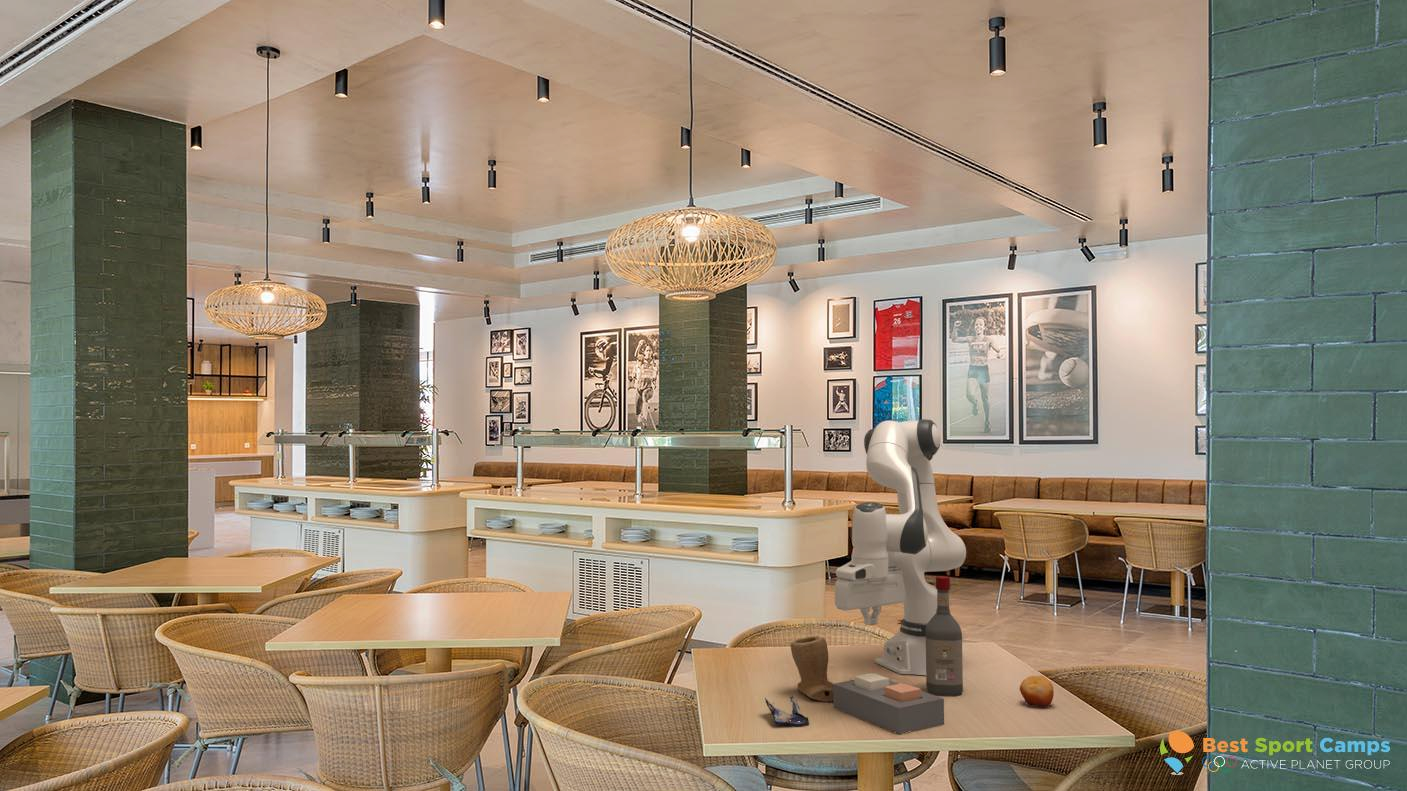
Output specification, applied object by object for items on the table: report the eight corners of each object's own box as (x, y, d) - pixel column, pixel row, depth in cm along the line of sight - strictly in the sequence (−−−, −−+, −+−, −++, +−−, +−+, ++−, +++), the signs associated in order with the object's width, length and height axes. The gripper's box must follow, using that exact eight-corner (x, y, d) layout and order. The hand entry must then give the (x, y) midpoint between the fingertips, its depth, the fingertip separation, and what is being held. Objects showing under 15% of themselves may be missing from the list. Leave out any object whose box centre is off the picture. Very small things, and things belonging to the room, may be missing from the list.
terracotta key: (884, 700, 227) (884, 686, 227) (903, 696, 230) (903, 683, 230) (901, 706, 222) (901, 692, 222) (920, 702, 225) (920, 689, 225)
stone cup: (786, 688, 254) (785, 632, 255) (828, 686, 257) (828, 630, 257) (802, 705, 240) (801, 645, 240) (847, 702, 242) (846, 643, 242)
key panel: (833, 707, 237) (833, 683, 237) (876, 699, 244) (876, 675, 244) (899, 734, 217) (899, 708, 217) (944, 724, 224) (943, 698, 224)
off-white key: (854, 689, 236) (854, 676, 236) (873, 685, 239) (873, 673, 239) (870, 695, 231) (870, 682, 231) (889, 691, 234) (889, 678, 234)
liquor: (963, 697, 246) (961, 580, 247) (927, 695, 247) (925, 579, 248) (961, 687, 255) (959, 575, 256) (926, 685, 256) (924, 574, 257)
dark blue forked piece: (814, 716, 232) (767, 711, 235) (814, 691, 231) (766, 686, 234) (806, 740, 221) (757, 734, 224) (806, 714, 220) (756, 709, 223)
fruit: (1058, 695, 242) (1054, 671, 238) (1053, 718, 236) (1049, 695, 232) (1025, 690, 246) (1021, 667, 242) (1020, 713, 240) (1015, 690, 236)
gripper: (893, 563, 244) (894, 617, 244) (830, 570, 234) (831, 626, 233) (910, 566, 239) (911, 622, 238) (846, 573, 228) (847, 631, 228)
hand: (871, 624), depth 236 cm, fingers closed
